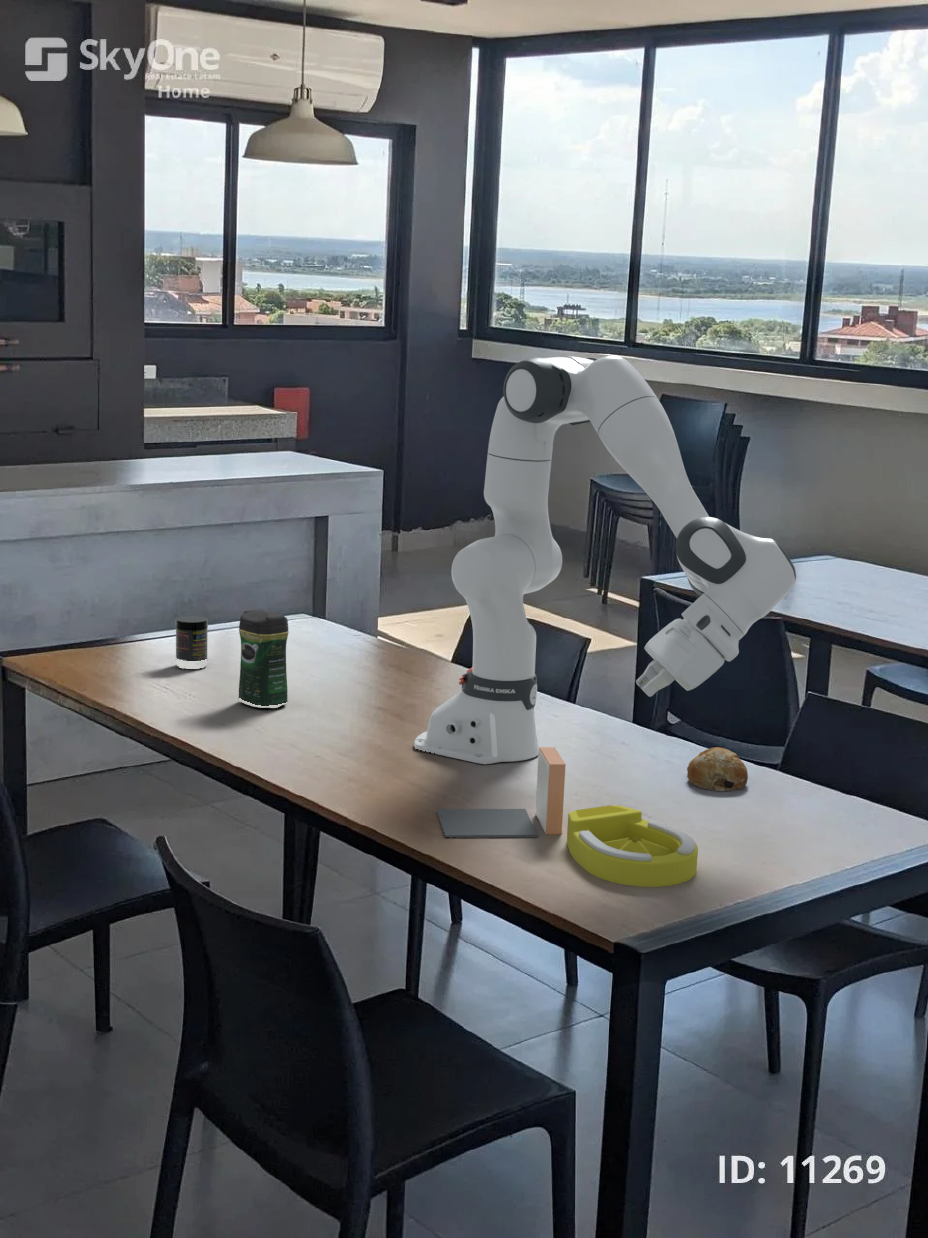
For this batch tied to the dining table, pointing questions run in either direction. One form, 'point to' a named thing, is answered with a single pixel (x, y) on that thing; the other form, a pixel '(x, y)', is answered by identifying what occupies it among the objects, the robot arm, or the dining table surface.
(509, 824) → the rubber mat
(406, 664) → the dining table surface
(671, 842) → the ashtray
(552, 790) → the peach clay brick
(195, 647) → the supplement container
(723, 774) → the bread roll
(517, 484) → the robot arm
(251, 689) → the coffee jar
